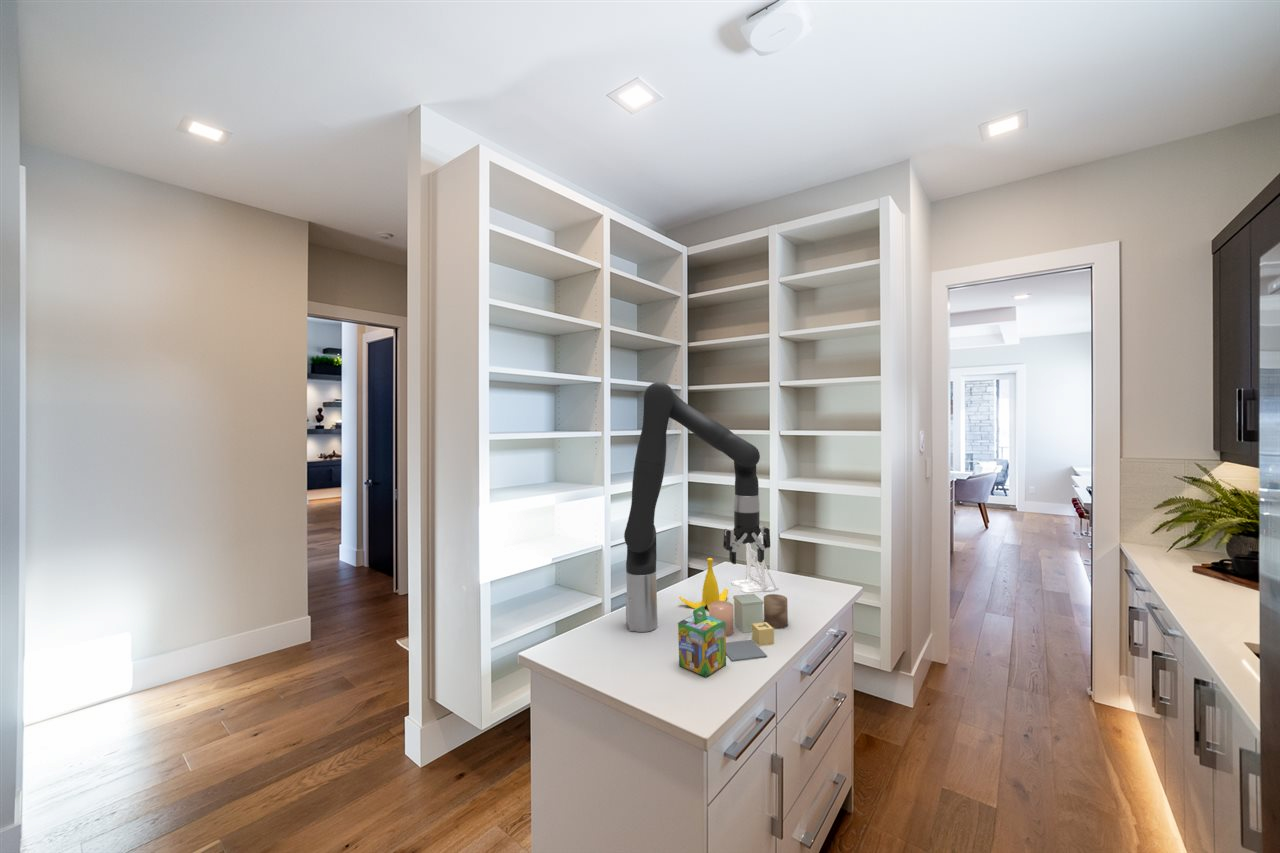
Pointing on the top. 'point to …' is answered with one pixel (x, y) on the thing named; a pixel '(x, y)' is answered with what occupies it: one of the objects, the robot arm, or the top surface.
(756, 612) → the pale green square canister
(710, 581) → the banana peel
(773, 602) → the canister
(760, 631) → the letter cube
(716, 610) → the canister
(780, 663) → the top surface
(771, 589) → the film strip holder
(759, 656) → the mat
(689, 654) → the chalk box
